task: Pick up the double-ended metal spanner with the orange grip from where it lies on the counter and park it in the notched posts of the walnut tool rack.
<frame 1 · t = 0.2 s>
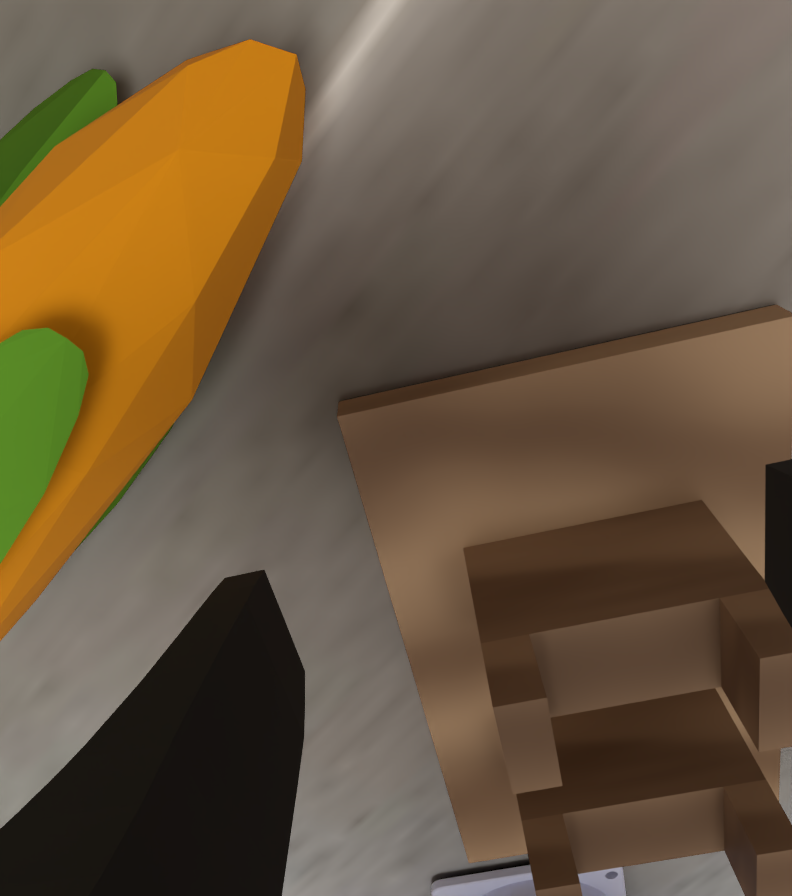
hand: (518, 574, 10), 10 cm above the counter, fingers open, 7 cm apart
tool rack: (588, 628, 24), on the counter
corn: (57, 350, 19), on the counter
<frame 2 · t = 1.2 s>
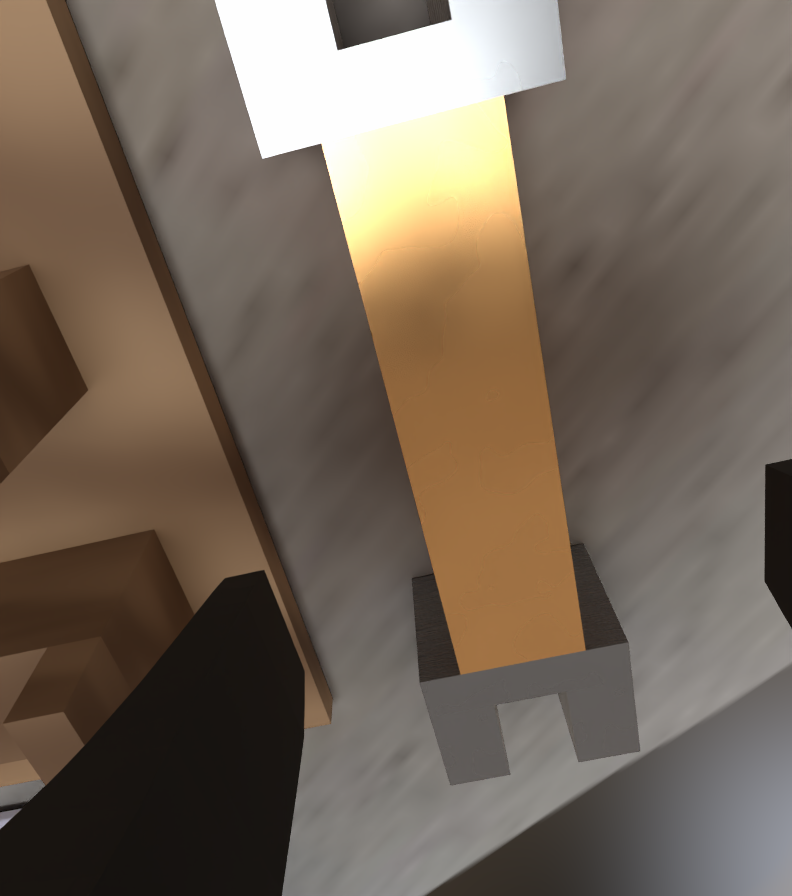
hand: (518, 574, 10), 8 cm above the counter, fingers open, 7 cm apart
tool rack: (9, 473, 19), on the counter
spanner: (456, 371, 18), on the counter
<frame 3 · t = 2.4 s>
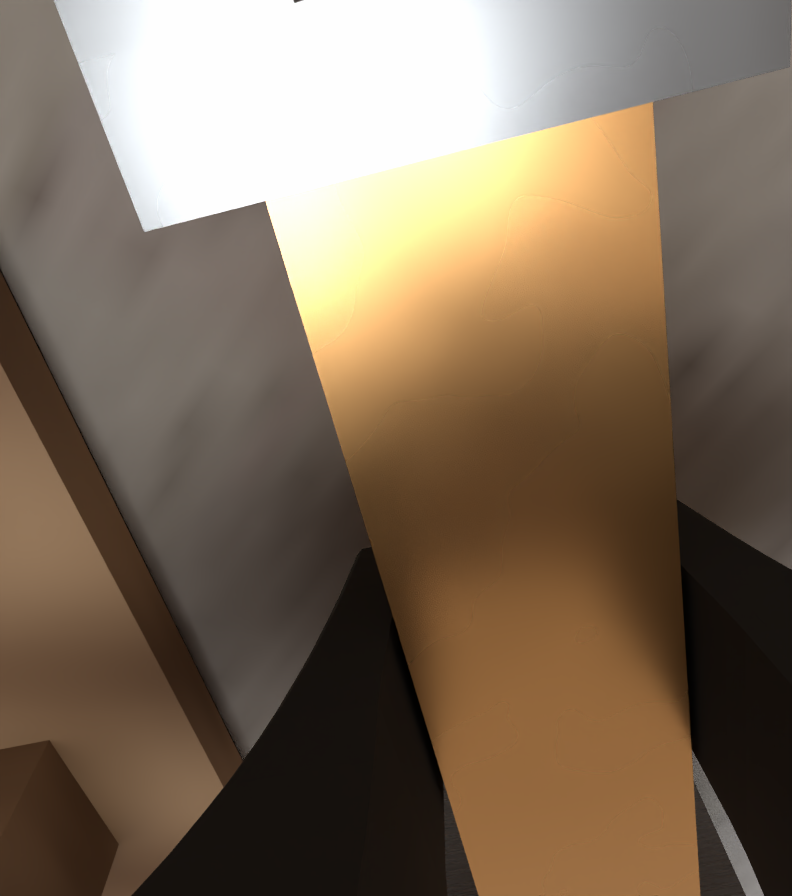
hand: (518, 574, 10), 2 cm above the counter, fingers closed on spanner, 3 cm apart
spanner: (500, 514, 12), on the counter, touching gripper
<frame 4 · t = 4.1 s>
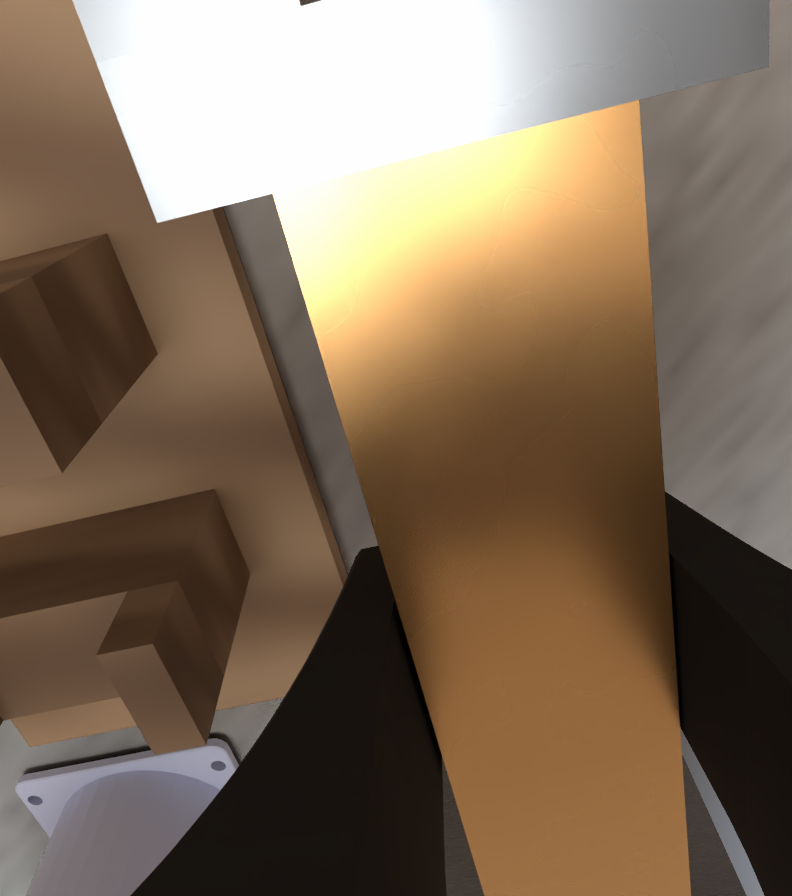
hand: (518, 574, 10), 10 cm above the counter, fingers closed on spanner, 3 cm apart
tool rack: (76, 437, 20), on the counter
spanner: (497, 500, 12), point 8 cm above the counter, touching gripper
when the fingers open (8 cm above the counter, at t = 5.6 s): spanner stays where it is, resting on tool rack.
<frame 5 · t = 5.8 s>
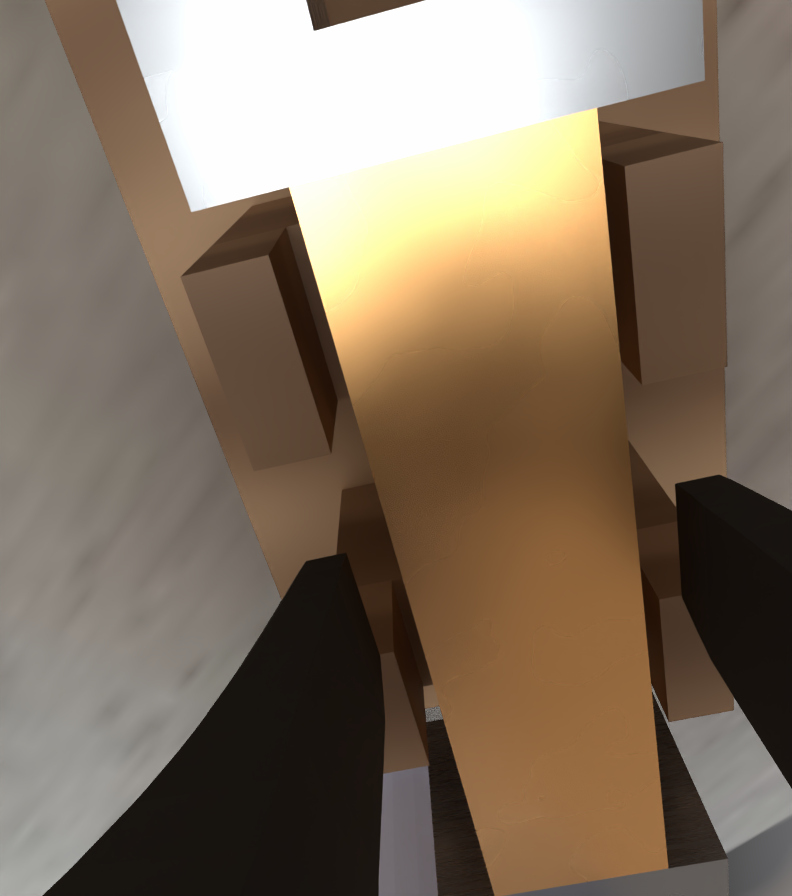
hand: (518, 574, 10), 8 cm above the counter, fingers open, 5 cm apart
tool rack: (459, 371, 17), on the counter
spanner: (488, 474, 13), point 5 cm above the counter, touching tool rack
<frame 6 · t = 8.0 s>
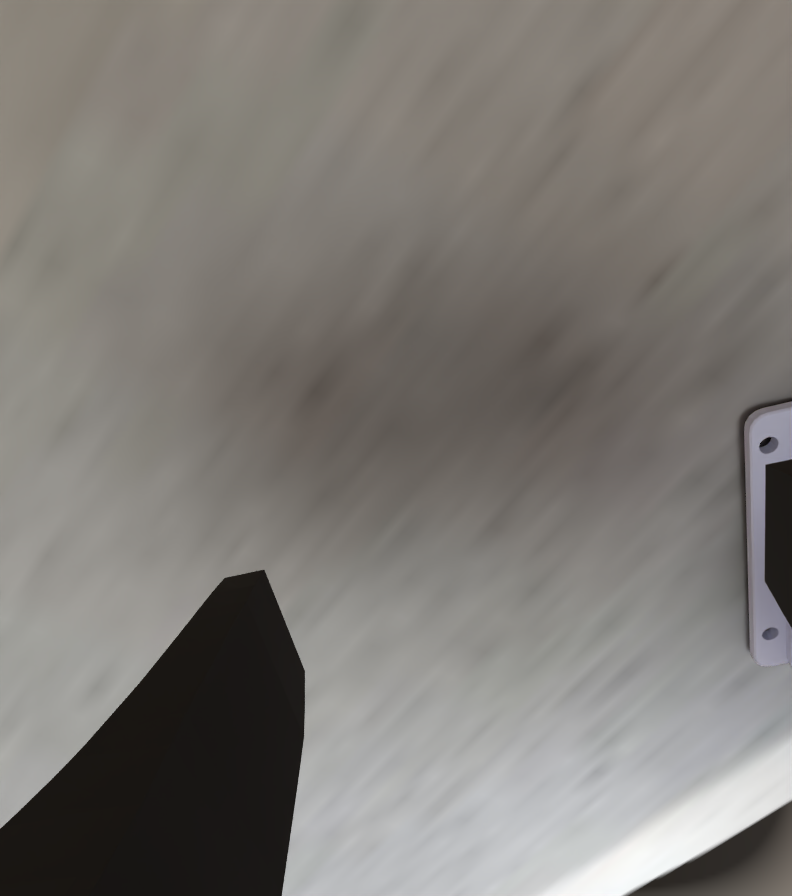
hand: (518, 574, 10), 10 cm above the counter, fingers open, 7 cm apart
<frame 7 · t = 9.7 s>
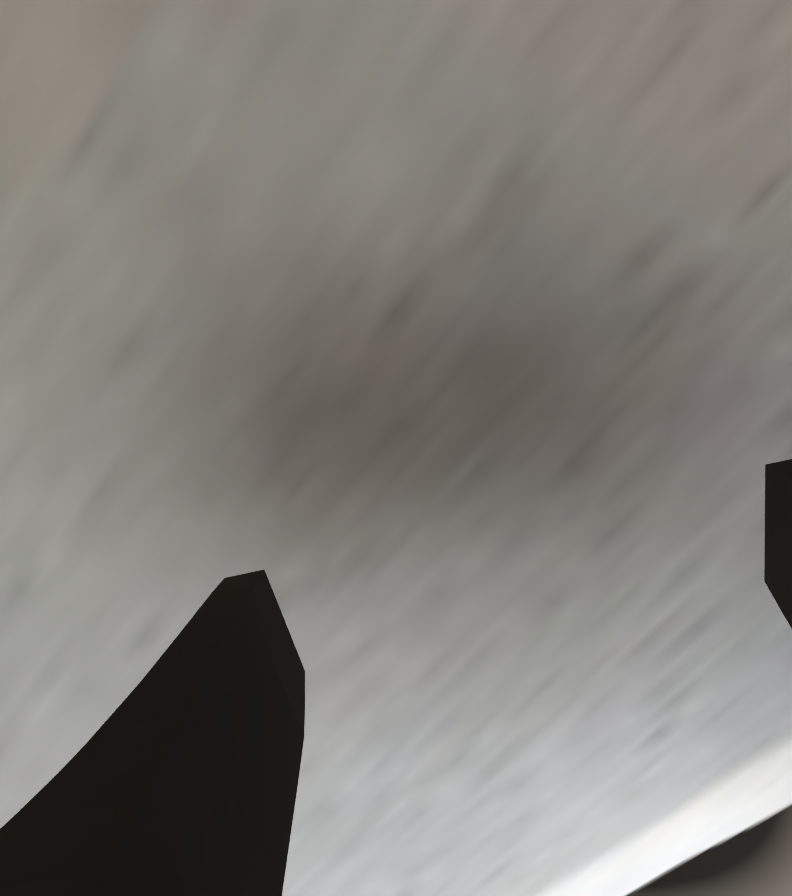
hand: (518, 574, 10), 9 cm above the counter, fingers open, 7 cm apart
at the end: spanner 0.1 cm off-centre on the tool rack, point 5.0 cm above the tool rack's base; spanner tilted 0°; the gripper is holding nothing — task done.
